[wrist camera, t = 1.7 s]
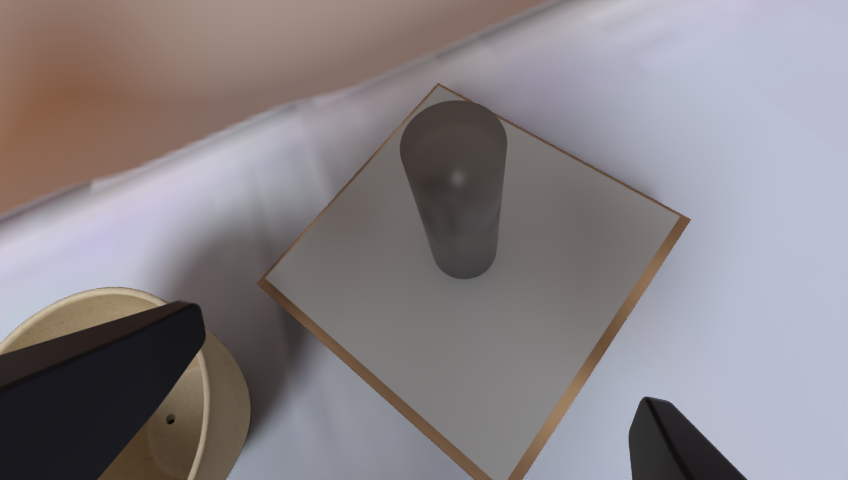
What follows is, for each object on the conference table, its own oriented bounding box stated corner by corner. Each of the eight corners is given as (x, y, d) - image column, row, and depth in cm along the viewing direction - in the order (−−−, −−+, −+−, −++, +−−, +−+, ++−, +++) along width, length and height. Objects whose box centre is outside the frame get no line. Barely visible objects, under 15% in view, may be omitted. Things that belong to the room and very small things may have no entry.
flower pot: (116, 341, 23) (-35, 317, 16) (290, 302, 22) (209, 260, 15) (96, 559, 19) (-113, 647, 12) (305, 518, 18) (207, 585, 12)
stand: (500, 489, 18) (504, 506, 15) (284, 298, 22) (256, 283, 19) (662, 243, 21) (691, 219, 18) (442, 118, 25) (438, 82, 22)
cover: (500, 484, 15) (522, 577, 7) (271, 281, 19) (124, 199, 11) (674, 222, 18) (828, 80, 10) (439, 93, 22) (416, -80, 14)
